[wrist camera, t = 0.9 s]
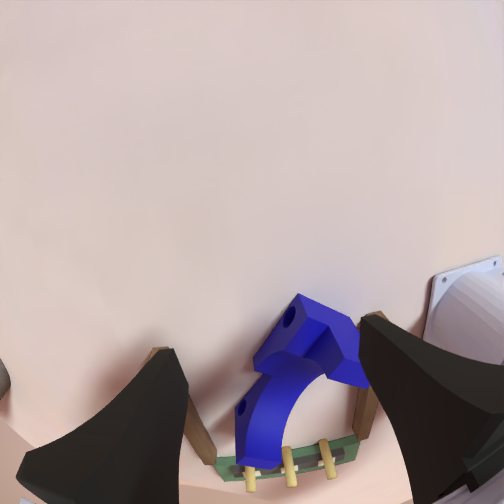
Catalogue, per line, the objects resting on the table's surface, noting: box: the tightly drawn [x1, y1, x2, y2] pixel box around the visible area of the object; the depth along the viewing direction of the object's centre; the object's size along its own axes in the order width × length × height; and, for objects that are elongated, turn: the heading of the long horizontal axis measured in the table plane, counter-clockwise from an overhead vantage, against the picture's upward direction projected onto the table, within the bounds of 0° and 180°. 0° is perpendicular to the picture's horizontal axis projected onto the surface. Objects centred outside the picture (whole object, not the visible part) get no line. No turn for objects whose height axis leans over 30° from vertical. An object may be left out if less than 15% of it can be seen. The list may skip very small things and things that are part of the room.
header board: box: [214, 435, 360, 492], centre depth 22 cm, size 16×6×5 cm, turn 99°
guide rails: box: [149, 311, 390, 465], centre depth 20 cm, size 17×15×2 cm
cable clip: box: [235, 293, 370, 470], centre depth 17 cm, size 12×4×6 cm, turn 151°
